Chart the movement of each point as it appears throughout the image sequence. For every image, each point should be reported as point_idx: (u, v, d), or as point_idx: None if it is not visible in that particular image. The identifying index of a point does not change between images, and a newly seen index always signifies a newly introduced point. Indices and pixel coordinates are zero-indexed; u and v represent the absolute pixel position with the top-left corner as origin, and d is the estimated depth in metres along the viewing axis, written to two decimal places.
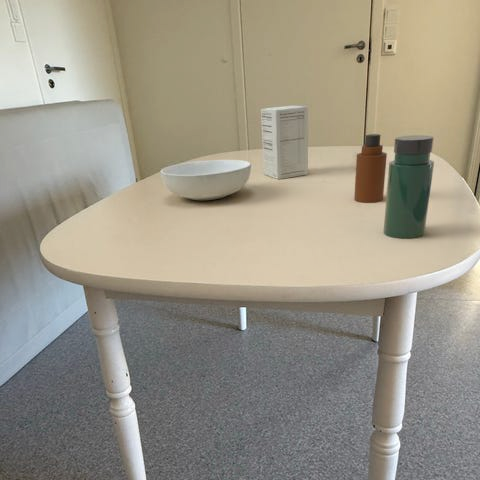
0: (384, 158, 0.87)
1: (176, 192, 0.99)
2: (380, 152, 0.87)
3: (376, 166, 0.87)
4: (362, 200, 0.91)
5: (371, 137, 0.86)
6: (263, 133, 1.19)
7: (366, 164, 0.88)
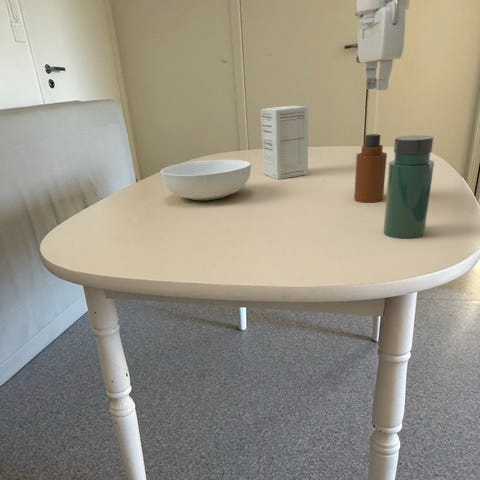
0: (384, 158, 0.87)
1: (176, 192, 0.99)
2: (380, 152, 0.87)
3: (376, 166, 0.87)
4: (362, 200, 0.91)
5: (371, 137, 0.86)
6: (263, 133, 1.19)
7: (366, 164, 0.88)
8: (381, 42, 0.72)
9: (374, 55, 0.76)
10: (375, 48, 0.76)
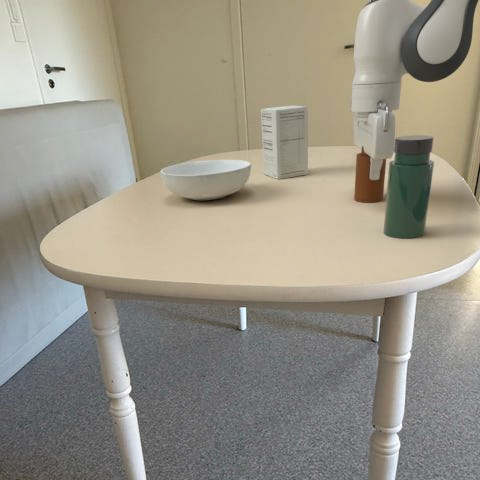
0: None
1: (176, 192, 0.99)
2: None
3: None
4: (362, 200, 0.91)
5: None
6: (263, 133, 1.19)
7: (366, 164, 0.88)
8: (374, 145, 0.79)
9: (368, 152, 0.84)
10: (368, 146, 0.83)
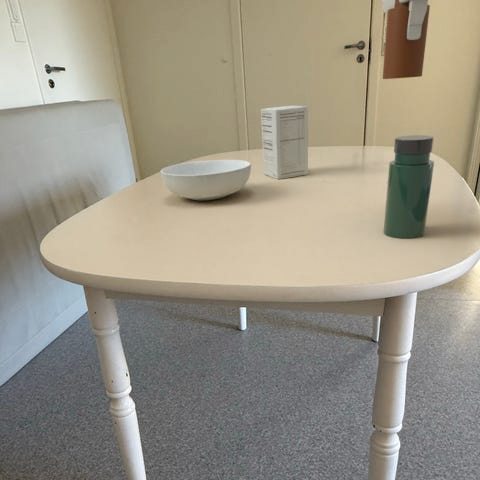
0: (426, 10, 0.64)
1: (176, 192, 0.99)
2: None
3: None
4: (394, 75, 0.67)
5: None
6: (263, 133, 1.19)
7: (401, 19, 0.64)
8: None
9: None
10: None
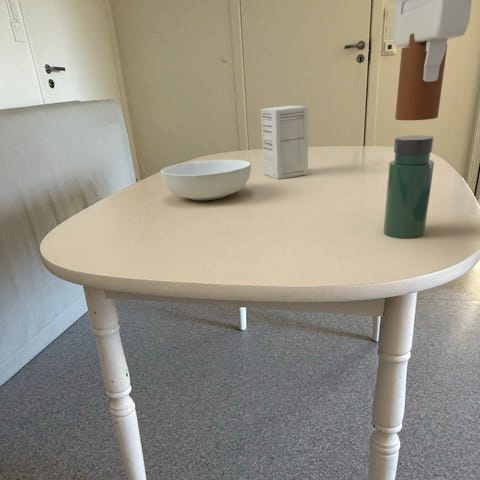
0: None
1: (176, 192, 0.99)
2: None
3: None
4: (409, 117, 0.63)
5: None
6: (263, 133, 1.19)
7: (417, 59, 0.59)
8: (438, 13, 0.51)
9: (424, 33, 0.55)
10: (426, 23, 0.55)
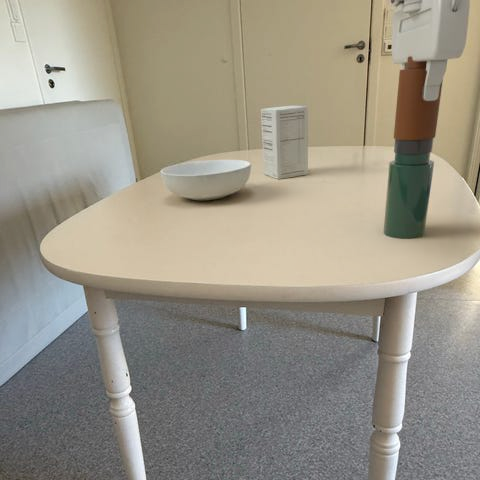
0: None
1: (176, 192, 0.99)
2: None
3: None
4: (407, 137, 0.64)
5: None
6: (263, 133, 1.19)
7: (415, 81, 0.60)
8: (435, 36, 0.52)
9: (421, 54, 0.57)
10: (423, 44, 0.56)
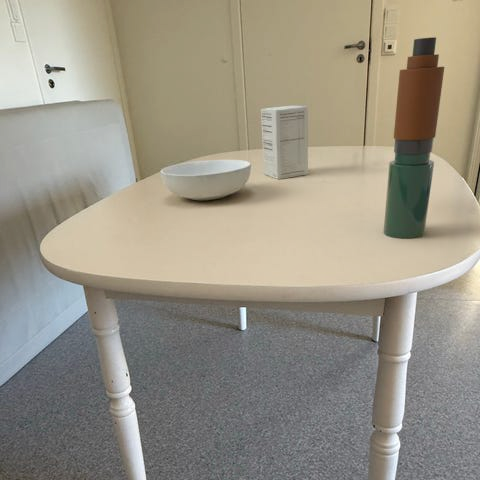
0: (441, 72, 0.60)
1: (176, 192, 0.99)
2: (435, 63, 0.60)
3: (429, 84, 0.60)
4: (407, 137, 0.64)
5: (423, 40, 0.59)
6: (263, 133, 1.19)
7: (415, 81, 0.60)
8: None
9: None
10: None
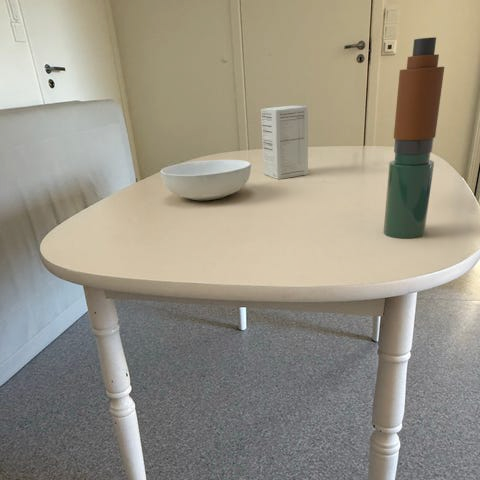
0: (441, 72, 0.60)
1: (176, 192, 0.99)
2: (435, 63, 0.60)
3: (429, 84, 0.60)
4: (407, 137, 0.64)
5: (423, 40, 0.59)
6: (263, 133, 1.19)
7: (415, 81, 0.60)
8: None
9: None
10: None
